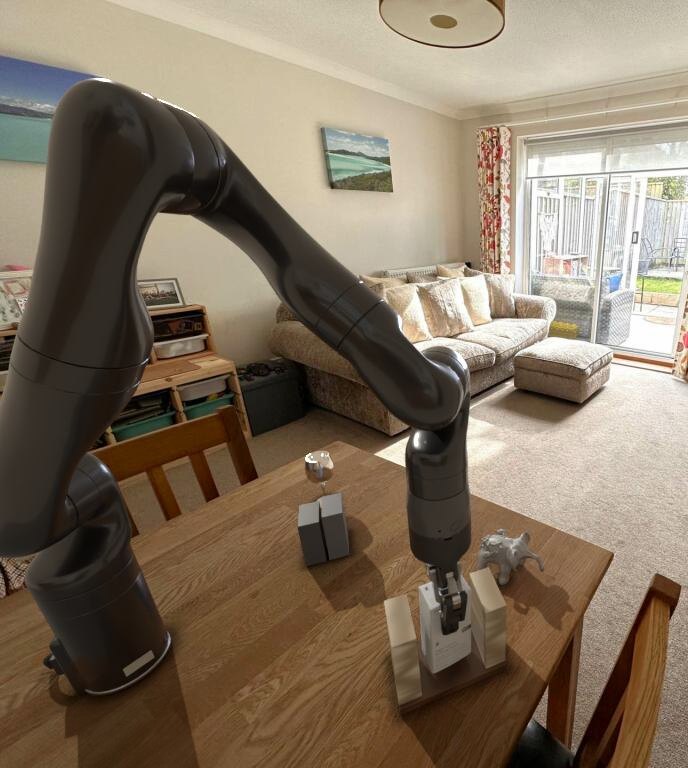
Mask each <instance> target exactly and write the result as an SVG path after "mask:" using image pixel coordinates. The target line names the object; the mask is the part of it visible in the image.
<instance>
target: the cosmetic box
mask: <svg viewBox="0 0 688 768" xmlns="http://www.w3.org/2000/svg"><path fill="white" fill-rule="evenodd" d="M460 575H461V584H462V591H463V590H465V591H466V593H467V595H468V598H467V607H466V615H465V620H464V621H460V622H459V629H458V630H457V632H454V633H452V634H449V635H443V634H442V631H441V620H440V615H439V611H440V610H439V603H437V602H436V600H435V598H434V595H433V587H432V581H429V582H427V583H424V584H422V585H419V586H418V605H419V606H418V608H419V622H420V639H421V642H422V651H423V653H424V655H425V658H426V660H427V662H428V665H429V667H430V669H431V671H432V673H437V672H439V671H441V670H442V669H444V668H446V667H448V666H450V665H452V664H454V663H455V662H457V661H459V660H460V659H462V658H464V657H465V656H467V655H468V654H470V652H471V588H470V584H469V583H468V582H467V581H466V579H465V578H464V576H463V575H462V573H461V574H460ZM447 588H448V587H447ZM447 588H444V589H447ZM438 590H443V589H441V588H438Z"/></svg>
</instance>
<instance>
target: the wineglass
mask: <svg viewBox="0 0 688 768" xmlns="http://www.w3.org/2000/svg"><path fill="white" fill-rule="evenodd" d="M304 472H305V476H306V478H307V481H309V482H310V483H311V484H315V485H316V484H317V485H318V484H320V485H319V486H320V488H321V490H322V495H323V496H328V495H329V494H328V495H327V494H326V493H327V492H326V483H327V482H329V481H330V480H331V479H332V478H333V476H334V475H335V462H334V461H333V458H332V456H331V454H330V453H329V452H328V451H326V450H316V451H313V452H310V453H309V454H307V455H306V457H305V459H304ZM323 496H321V497H319V498H317V499H316V501H315V502H317V501H319V502H320V507H321V509H322V497H323Z"/></svg>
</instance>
